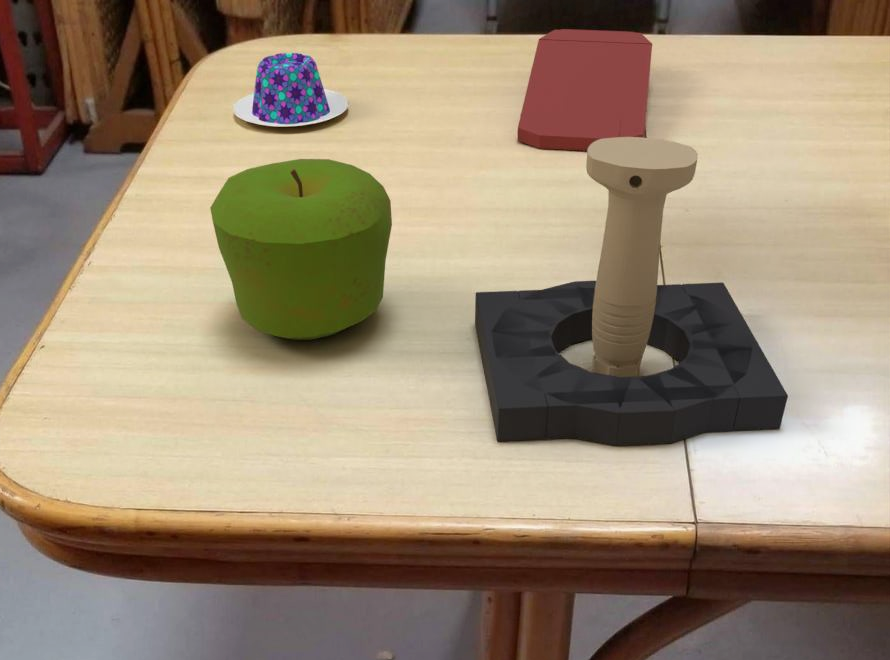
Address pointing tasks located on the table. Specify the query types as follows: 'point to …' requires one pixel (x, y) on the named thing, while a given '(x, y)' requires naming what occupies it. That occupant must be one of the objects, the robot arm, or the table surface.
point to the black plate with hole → (623, 398)
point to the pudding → (289, 94)
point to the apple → (304, 245)
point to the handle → (631, 242)
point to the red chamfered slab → (586, 89)
